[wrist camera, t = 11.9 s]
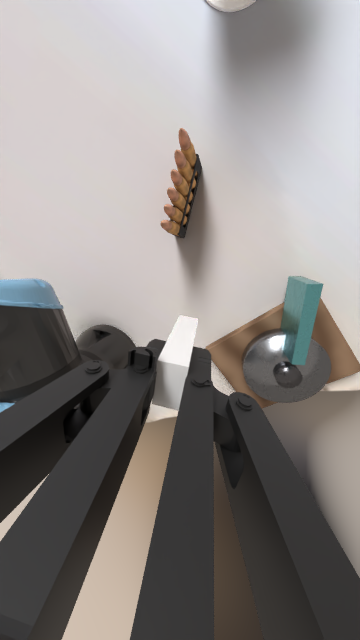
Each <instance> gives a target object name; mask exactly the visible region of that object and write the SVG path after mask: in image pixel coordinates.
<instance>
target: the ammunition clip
mask: <svg viewBox="0 0 360 640" xmlns="http://www.w3.org/2000/svg"><path fill="white" fill-rule="evenodd" d="M179 143H180V147H181V151H180V150H176V151H175V161H176V164H177V168H178V171H177V170H174V169H173V170H172V171H171V179H172V181H173V183H174V187H175V189H176V190H177V191H176V190H175V189H174V188H168V189H167V194H168V196H169V198H170V200H171V202H172V204H173V205H174V206H172V205H169V204H167V205H165V206H164V211H165V213H166V214H167V215H168V216H169V218H170V221H168V220H163V221H161V226H162V228H163V229H165V230H166V231H167V232H168V233H171V234H173V235H175V236H178V237H181V238H184V237H185V233H186V229H187V225H188V221H189V217H190V213H191V209H192V205H193V201H194V197H195V193H196V189H197V185H198V181H199V177H200V173H201V169H202V166H201V163H200V159H199V155H198V154H196V153H195V150H194V146H193V144H192V143H191V141H190V138H189V136H188V134H187V132H186V131H185V130H184V129H183V128H180V130H179ZM196 156H197V157H196ZM174 221H175V222H174Z"/></svg>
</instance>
